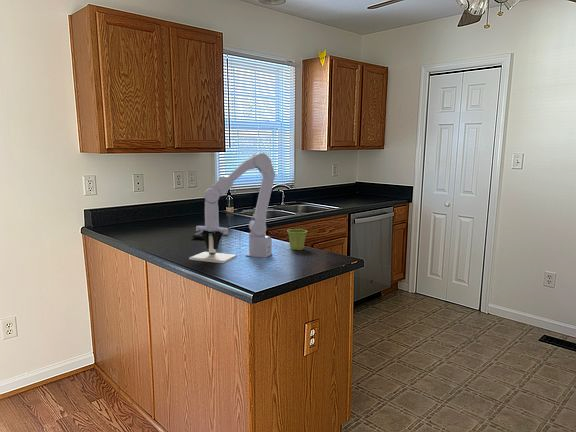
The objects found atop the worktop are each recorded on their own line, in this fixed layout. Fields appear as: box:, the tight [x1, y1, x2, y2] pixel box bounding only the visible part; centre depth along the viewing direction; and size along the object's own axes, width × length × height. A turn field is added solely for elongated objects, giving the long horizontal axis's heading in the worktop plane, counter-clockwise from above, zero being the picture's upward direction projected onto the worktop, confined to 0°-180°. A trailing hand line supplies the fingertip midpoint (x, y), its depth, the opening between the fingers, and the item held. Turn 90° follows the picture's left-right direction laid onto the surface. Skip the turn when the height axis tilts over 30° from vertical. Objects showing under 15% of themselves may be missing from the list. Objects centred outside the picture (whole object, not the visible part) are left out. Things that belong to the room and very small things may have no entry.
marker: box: [208, 234, 217, 255], centre depth 180 cm, size 3×3×9 cm
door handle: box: [191, 231, 229, 241], centre depth 225 cm, size 3×20×16 cm
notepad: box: [188, 251, 238, 264], centre depth 180 cm, size 16×12×1 cm
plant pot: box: [286, 228, 308, 251], centre depth 198 cm, size 9×9×9 cm
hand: (212, 248), depth 181 cm, fingers closed on marker, 3 cm apart
